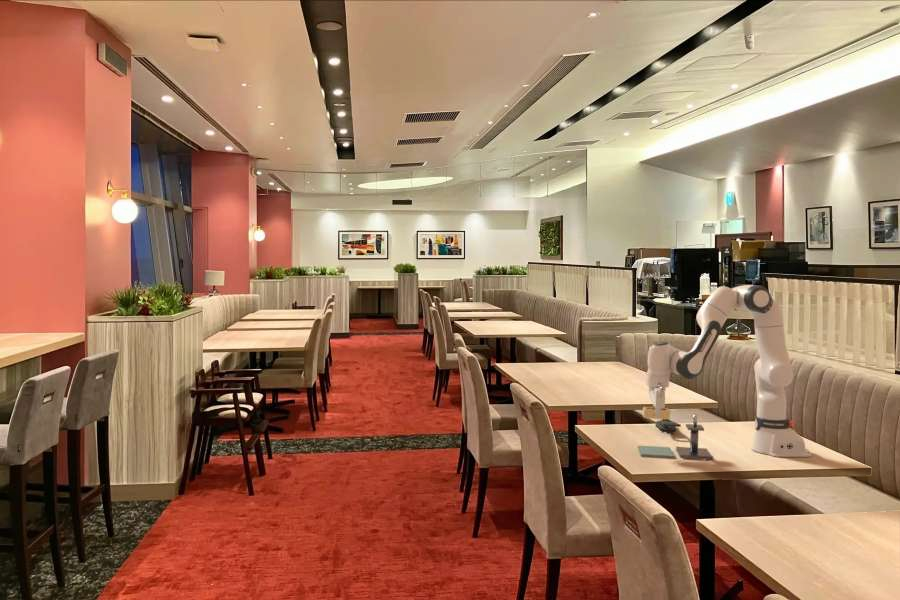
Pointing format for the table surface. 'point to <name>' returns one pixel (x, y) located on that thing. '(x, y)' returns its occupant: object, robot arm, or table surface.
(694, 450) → the pin stand
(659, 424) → the zipper pull
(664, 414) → the wooden rectangular frame
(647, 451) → the rubber mat
